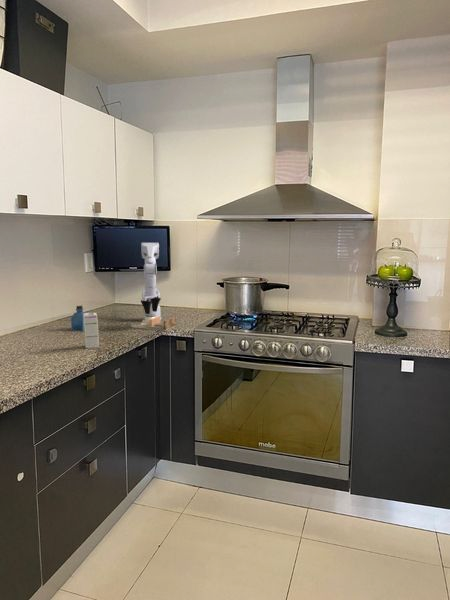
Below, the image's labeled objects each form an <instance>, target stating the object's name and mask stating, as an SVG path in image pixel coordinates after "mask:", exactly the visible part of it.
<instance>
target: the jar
mask: <svg viewBox="0 0 450 600" xmlns="http://www.w3.org/2000/svg"><path fill="white" fill-rule="evenodd" d="M153 318H155V314H146V315H145V314H144V319H146V326H150V319H153Z"/></svg>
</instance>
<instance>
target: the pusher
mask: <svg viewBox="0 0 450 600" xmlns="http://www.w3.org/2000/svg"><path fill="white" fill-rule="evenodd" d="M161 322H162V320H160V317H156V318H153V319H150V326H156V327H162V326H164V324H163V323H161Z"/></svg>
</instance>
